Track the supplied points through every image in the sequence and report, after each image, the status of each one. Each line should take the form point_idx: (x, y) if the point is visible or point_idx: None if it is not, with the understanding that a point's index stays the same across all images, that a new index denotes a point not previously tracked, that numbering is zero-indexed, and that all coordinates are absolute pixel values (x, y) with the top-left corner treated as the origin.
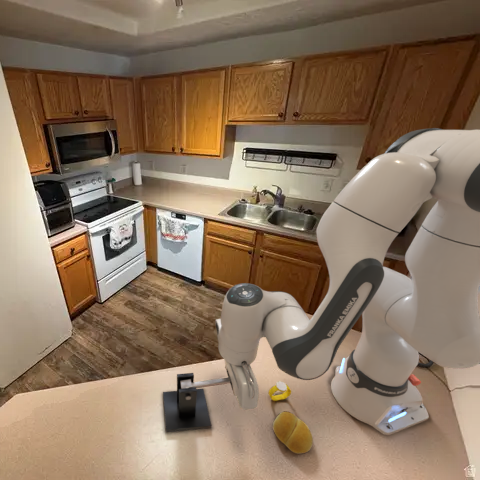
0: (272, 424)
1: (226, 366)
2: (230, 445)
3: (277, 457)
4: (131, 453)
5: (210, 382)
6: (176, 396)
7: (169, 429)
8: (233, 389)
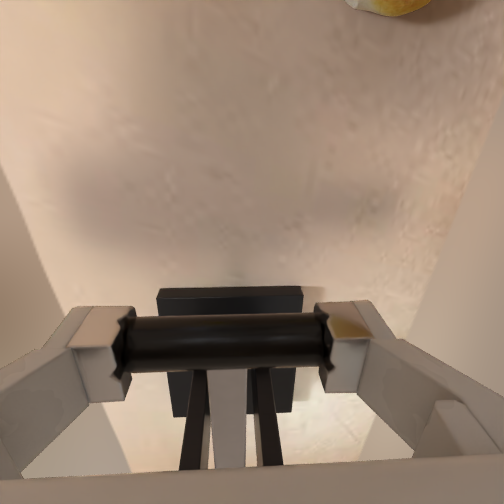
0: (358, 7)
1: (98, 401)
2: (366, 235)
3: (462, 53)
4: (320, 458)
5: (233, 463)
6: (189, 384)
7: (291, 405)
8: (342, 382)
